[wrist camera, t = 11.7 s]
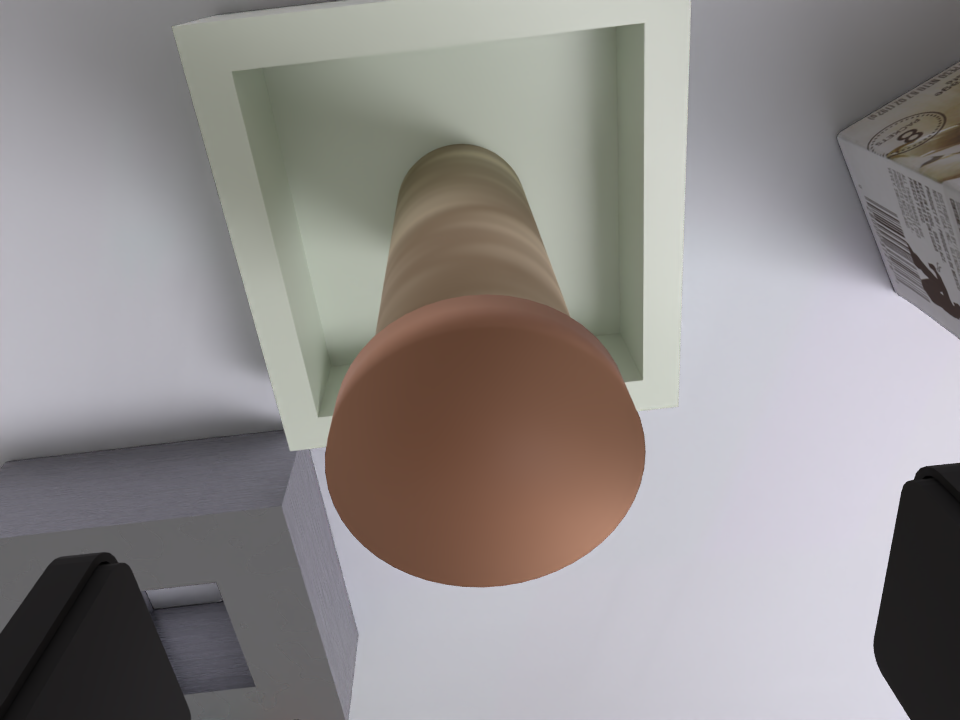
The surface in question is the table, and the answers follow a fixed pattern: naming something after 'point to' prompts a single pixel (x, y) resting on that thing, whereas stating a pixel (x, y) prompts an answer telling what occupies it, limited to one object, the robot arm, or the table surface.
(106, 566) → the robot arm
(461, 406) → the pin
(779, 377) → the table surface
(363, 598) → the table surface
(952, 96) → the coffee box
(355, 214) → the tray
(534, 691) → the table surface
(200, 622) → the hitch block
